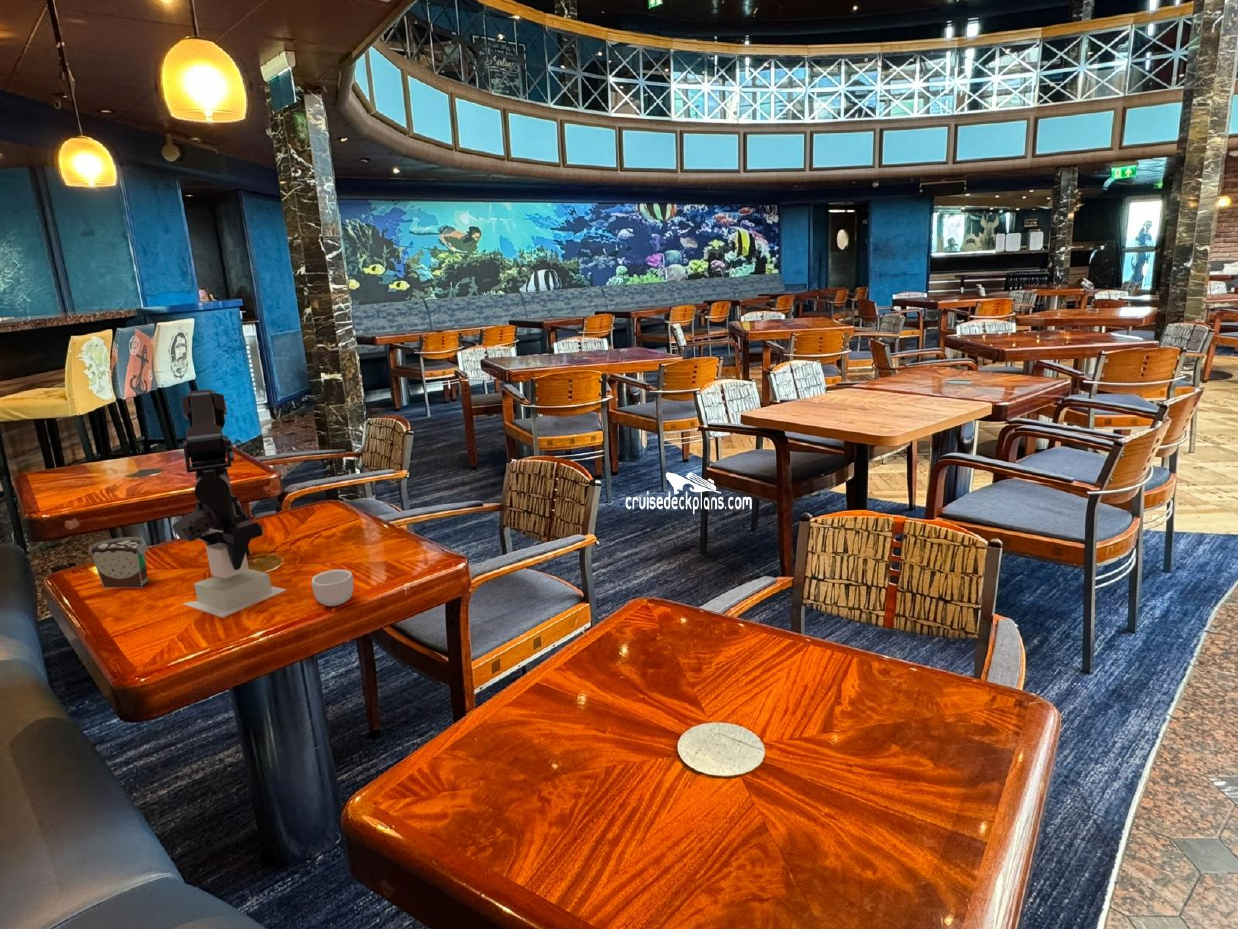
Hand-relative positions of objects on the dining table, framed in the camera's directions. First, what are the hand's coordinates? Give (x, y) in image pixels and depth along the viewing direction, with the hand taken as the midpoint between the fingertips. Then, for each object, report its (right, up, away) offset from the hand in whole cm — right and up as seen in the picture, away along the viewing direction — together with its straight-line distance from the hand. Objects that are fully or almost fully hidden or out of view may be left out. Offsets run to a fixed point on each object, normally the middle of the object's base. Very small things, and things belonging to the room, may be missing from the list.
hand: (229, 567), depth 150 cm
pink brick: (0, -1, 0) cm, 1 cm away
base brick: (0, -6, +2) cm, 7 cm away
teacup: (+21, -7, 0) cm, 22 cm away
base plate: (0, -7, +2) cm, 8 cm away
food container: (-30, -6, +15) cm, 34 cm away
